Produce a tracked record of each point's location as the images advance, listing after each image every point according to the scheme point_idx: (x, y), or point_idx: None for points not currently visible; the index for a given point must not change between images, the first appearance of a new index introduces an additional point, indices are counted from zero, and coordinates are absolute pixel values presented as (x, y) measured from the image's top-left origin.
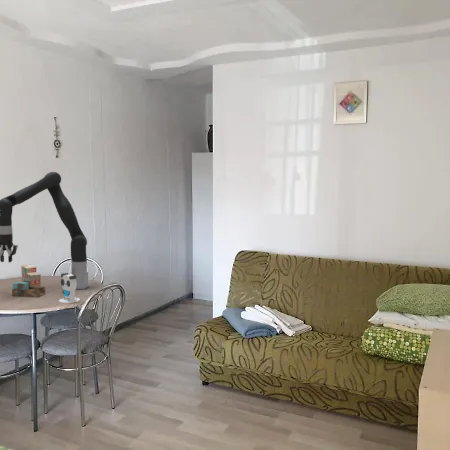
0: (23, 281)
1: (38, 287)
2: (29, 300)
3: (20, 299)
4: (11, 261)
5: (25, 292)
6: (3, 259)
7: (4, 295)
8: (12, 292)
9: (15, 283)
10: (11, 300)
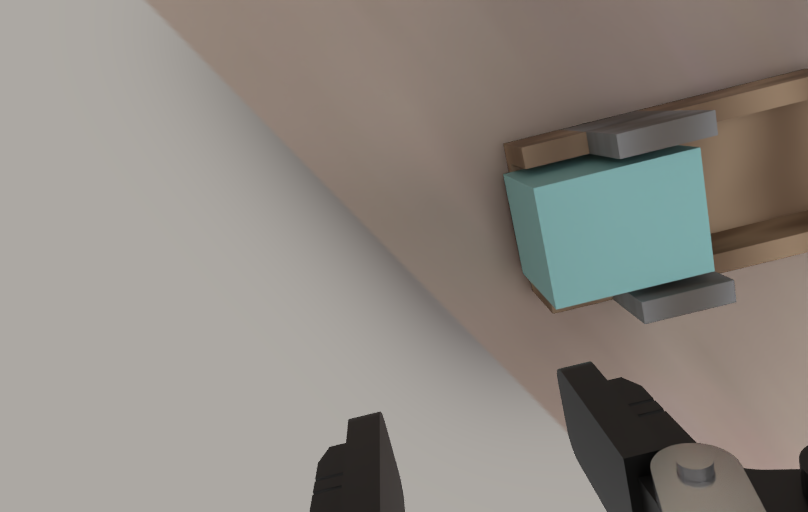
0: (621, 158)
1: (789, 103)
2: (797, 355)
3: (694, 359)
4: (589, 362)
5: None
6: (387, 466)
7: (439, 301)
8: (544, 300)
9: (584, 284)
10: None
